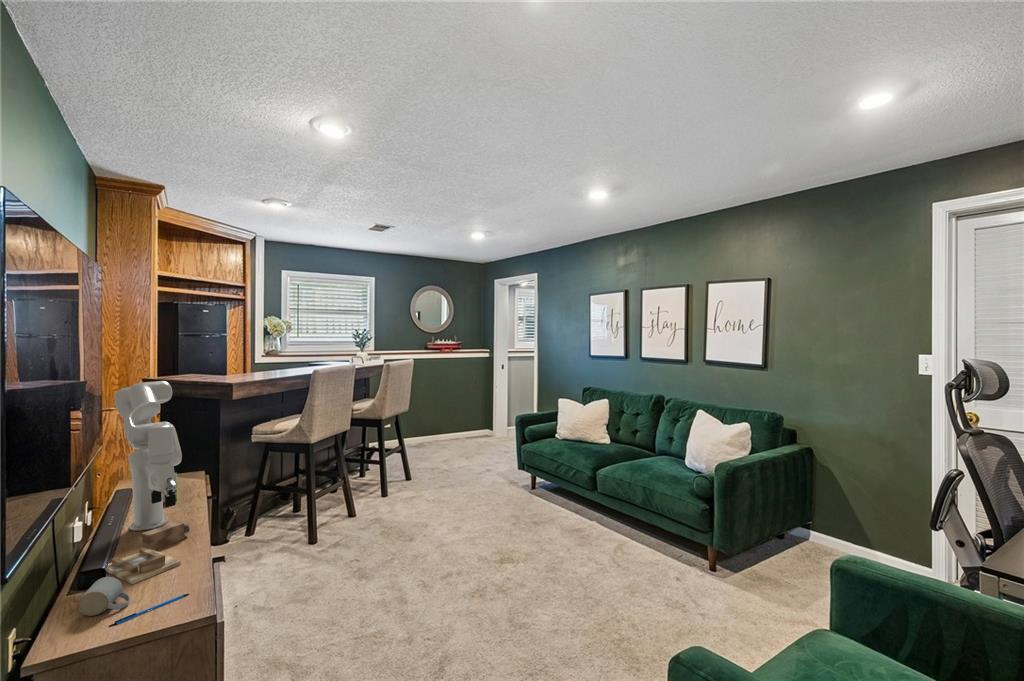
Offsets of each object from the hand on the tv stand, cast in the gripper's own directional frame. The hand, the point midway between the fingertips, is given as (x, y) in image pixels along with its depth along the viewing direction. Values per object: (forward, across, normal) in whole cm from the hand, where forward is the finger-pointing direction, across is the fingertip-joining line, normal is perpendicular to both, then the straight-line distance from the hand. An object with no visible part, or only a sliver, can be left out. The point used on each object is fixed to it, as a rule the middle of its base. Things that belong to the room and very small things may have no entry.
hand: (163, 504), depth 177 cm
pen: (+16, +43, -24) cm, 52 cm away
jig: (+15, +12, -13) cm, 23 cm away
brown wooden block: (+15, -1, 0) cm, 15 cm away
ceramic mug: (+16, +30, -29) cm, 45 cm away
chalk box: (+14, -51, +24) cm, 58 cm away
